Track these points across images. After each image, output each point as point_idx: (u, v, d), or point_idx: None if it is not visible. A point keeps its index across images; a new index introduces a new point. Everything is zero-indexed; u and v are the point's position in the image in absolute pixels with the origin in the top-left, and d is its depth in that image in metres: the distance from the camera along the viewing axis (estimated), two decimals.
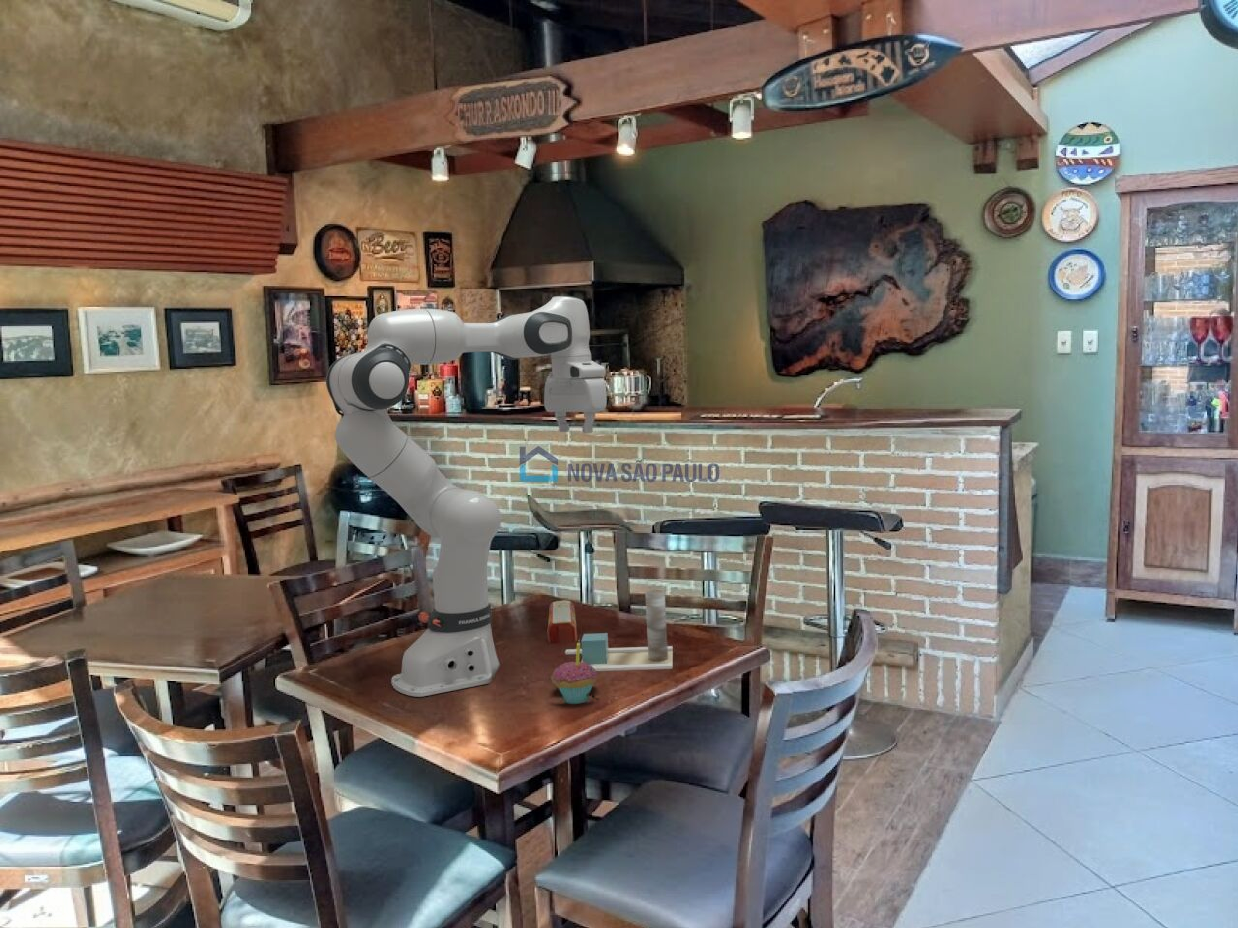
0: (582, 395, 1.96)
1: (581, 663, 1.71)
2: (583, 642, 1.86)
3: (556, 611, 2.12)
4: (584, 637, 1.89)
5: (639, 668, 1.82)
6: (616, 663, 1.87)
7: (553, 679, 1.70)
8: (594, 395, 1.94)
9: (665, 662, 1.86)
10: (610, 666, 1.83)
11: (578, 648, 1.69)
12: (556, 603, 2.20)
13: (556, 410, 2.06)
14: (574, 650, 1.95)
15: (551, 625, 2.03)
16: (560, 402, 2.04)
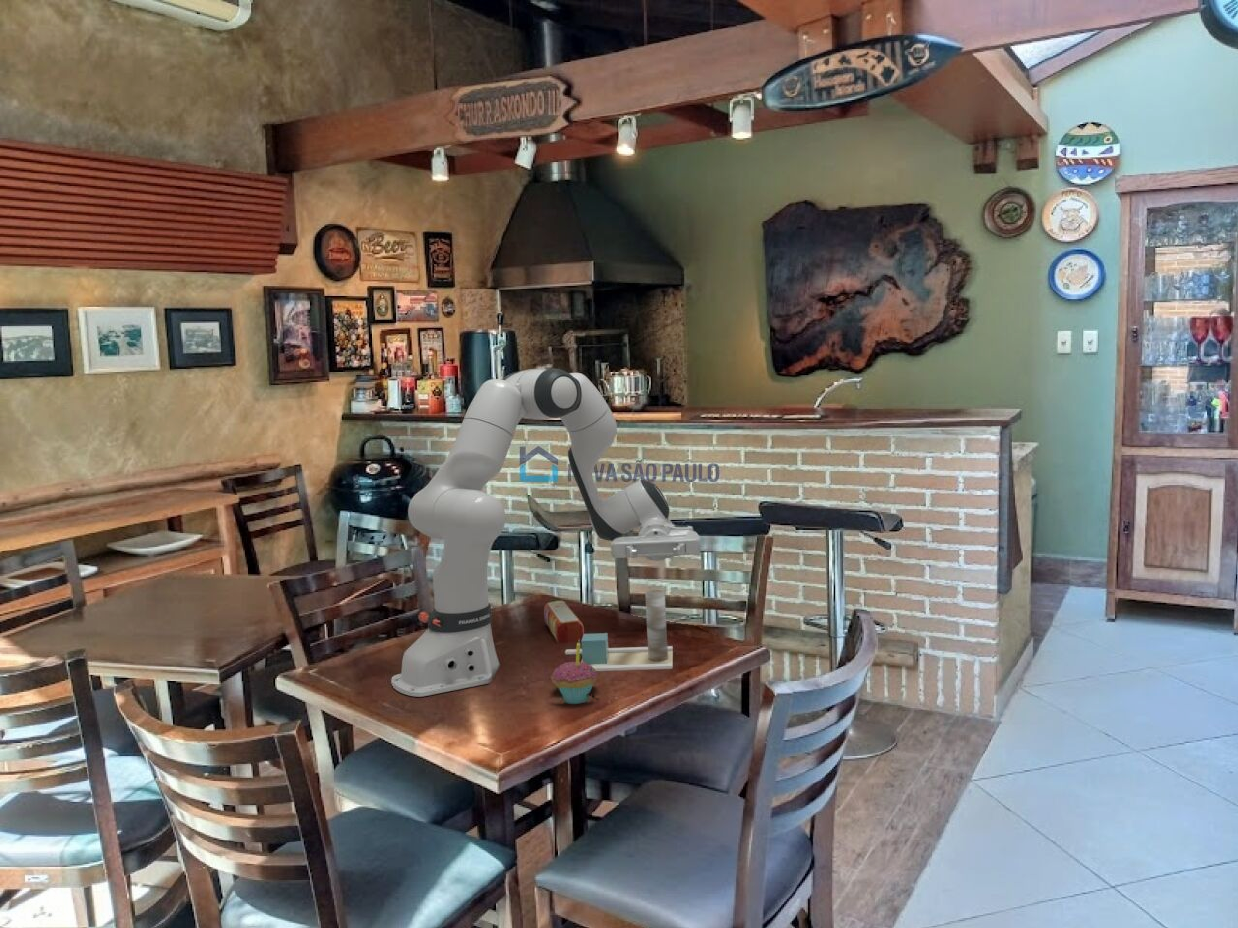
0: (683, 536, 2.06)
1: (581, 663, 1.71)
2: (583, 642, 1.86)
3: (557, 611, 2.12)
4: (584, 637, 1.89)
5: (639, 668, 1.82)
6: (616, 663, 1.87)
7: (553, 679, 1.70)
8: None
9: (665, 662, 1.86)
10: (610, 666, 1.83)
11: (578, 648, 1.69)
12: (552, 604, 2.20)
13: (633, 542, 2.04)
14: (574, 650, 1.95)
15: (559, 625, 2.03)
16: (643, 539, 2.05)
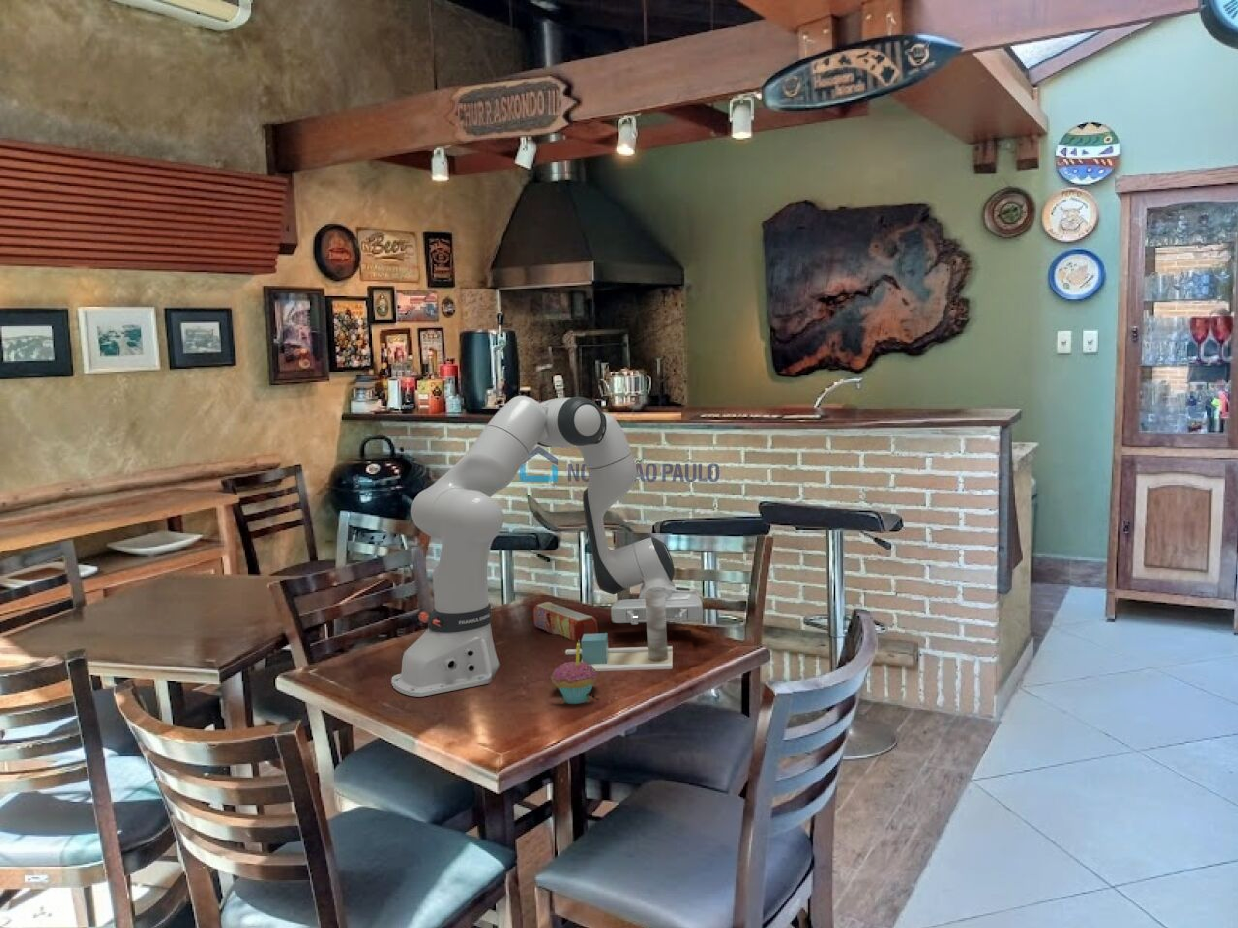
0: (685, 601, 2.02)
1: (581, 663, 1.71)
2: (583, 642, 1.86)
3: (560, 611, 2.12)
4: (584, 637, 1.89)
5: (639, 668, 1.82)
6: (616, 663, 1.87)
7: (553, 679, 1.70)
8: None
9: (665, 662, 1.86)
10: (610, 666, 1.83)
11: (578, 648, 1.69)
12: (544, 605, 2.19)
13: (634, 606, 1.99)
14: (574, 650, 1.95)
15: (576, 623, 2.03)
16: (644, 604, 2.01)
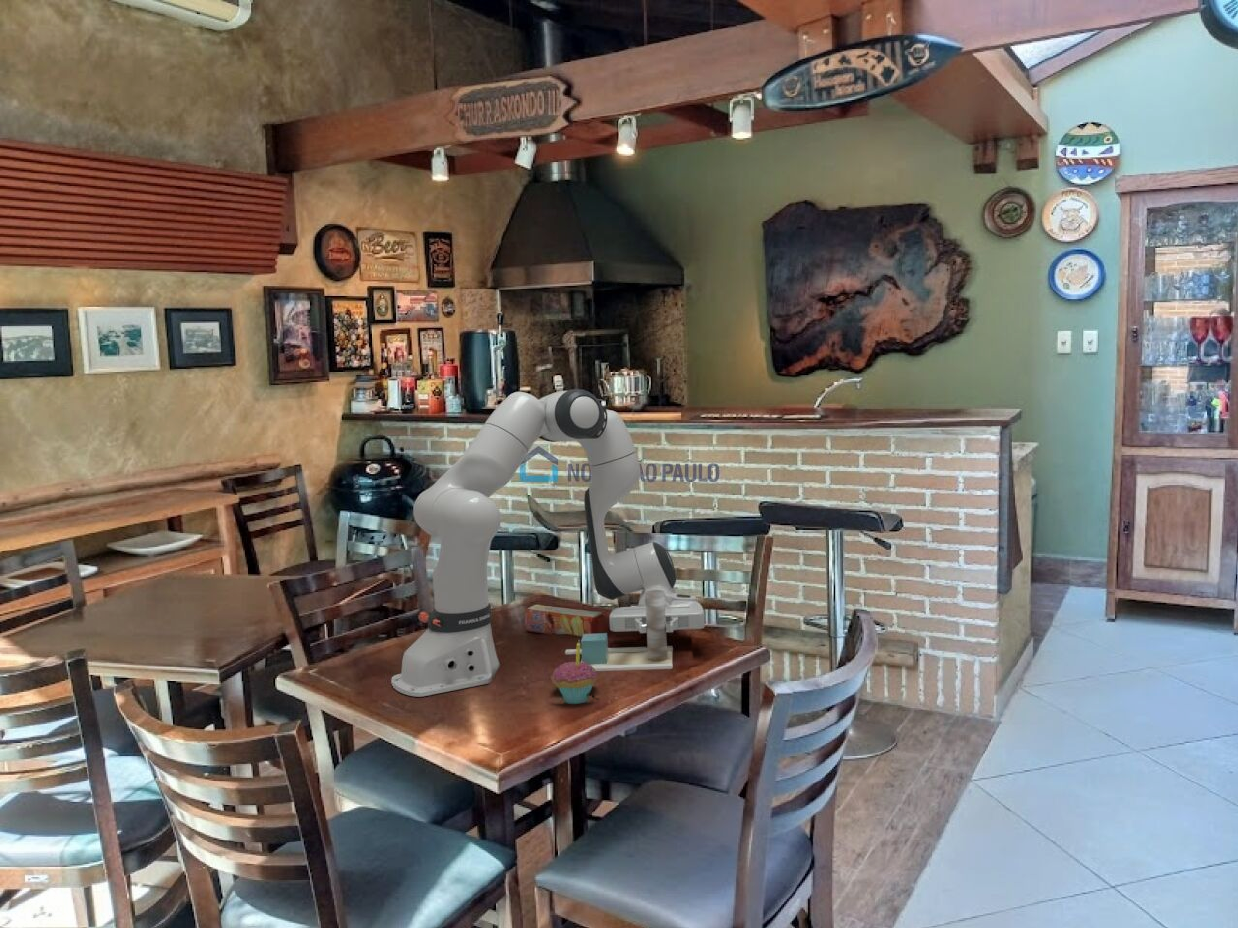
0: (685, 608, 1.94)
1: (581, 663, 1.71)
2: (583, 642, 1.87)
3: (562, 611, 2.12)
4: (584, 637, 1.89)
5: (639, 668, 1.82)
6: (616, 663, 1.87)
7: (553, 679, 1.70)
8: None
9: (664, 662, 1.86)
10: (610, 666, 1.83)
11: (578, 648, 1.69)
12: (537, 608, 2.17)
13: (633, 615, 1.92)
14: (574, 650, 1.95)
15: (592, 619, 2.06)
16: (643, 612, 1.94)
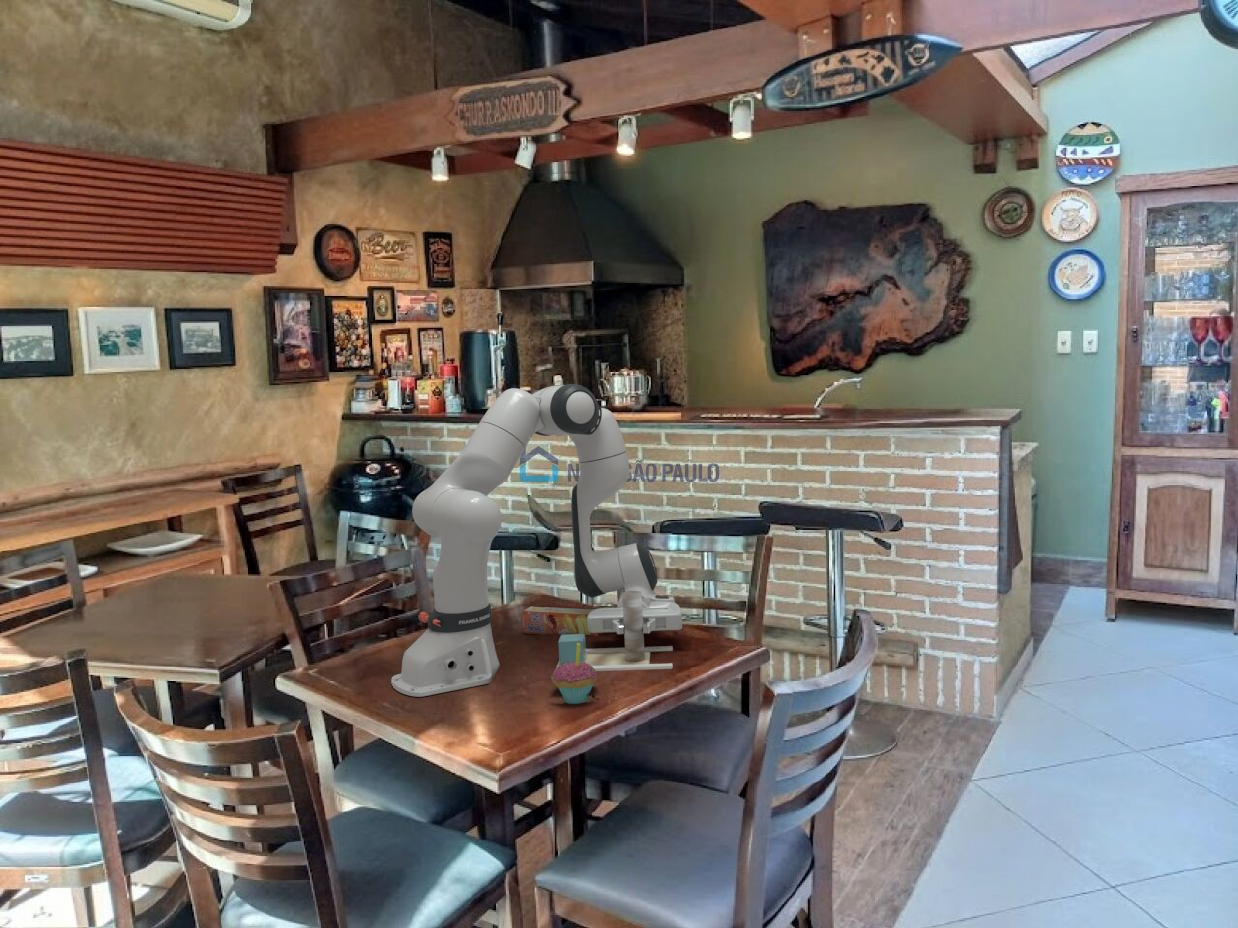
0: (663, 609, 1.95)
1: (581, 663, 1.71)
2: (560, 643, 1.87)
3: (564, 611, 2.12)
4: (561, 638, 1.89)
5: (639, 668, 1.82)
6: (593, 664, 1.87)
7: (553, 679, 1.70)
8: None
9: (641, 662, 1.86)
10: (610, 666, 1.83)
11: (578, 648, 1.69)
12: (534, 609, 2.16)
13: (611, 616, 1.92)
14: None
15: None
16: (621, 613, 1.94)
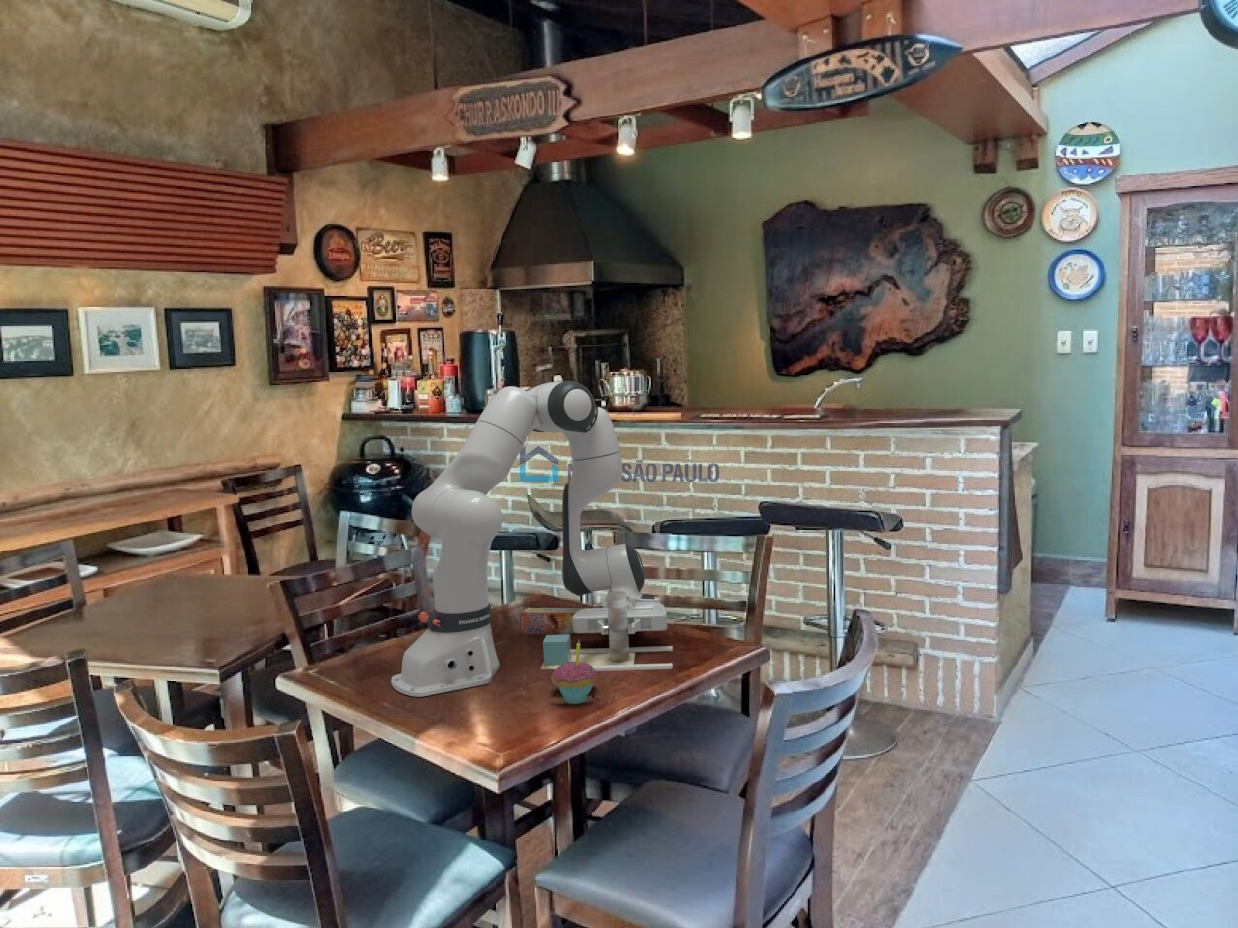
0: (649, 610, 1.95)
1: (581, 663, 1.71)
2: (545, 643, 1.87)
3: (565, 610, 2.12)
4: (546, 638, 1.89)
5: (639, 668, 1.82)
6: None
7: (553, 679, 1.70)
8: None
9: (626, 663, 1.86)
10: (610, 666, 1.83)
11: (578, 648, 1.69)
12: (533, 610, 2.15)
13: (596, 616, 1.92)
14: (574, 650, 1.95)
15: None
16: (606, 613, 1.94)
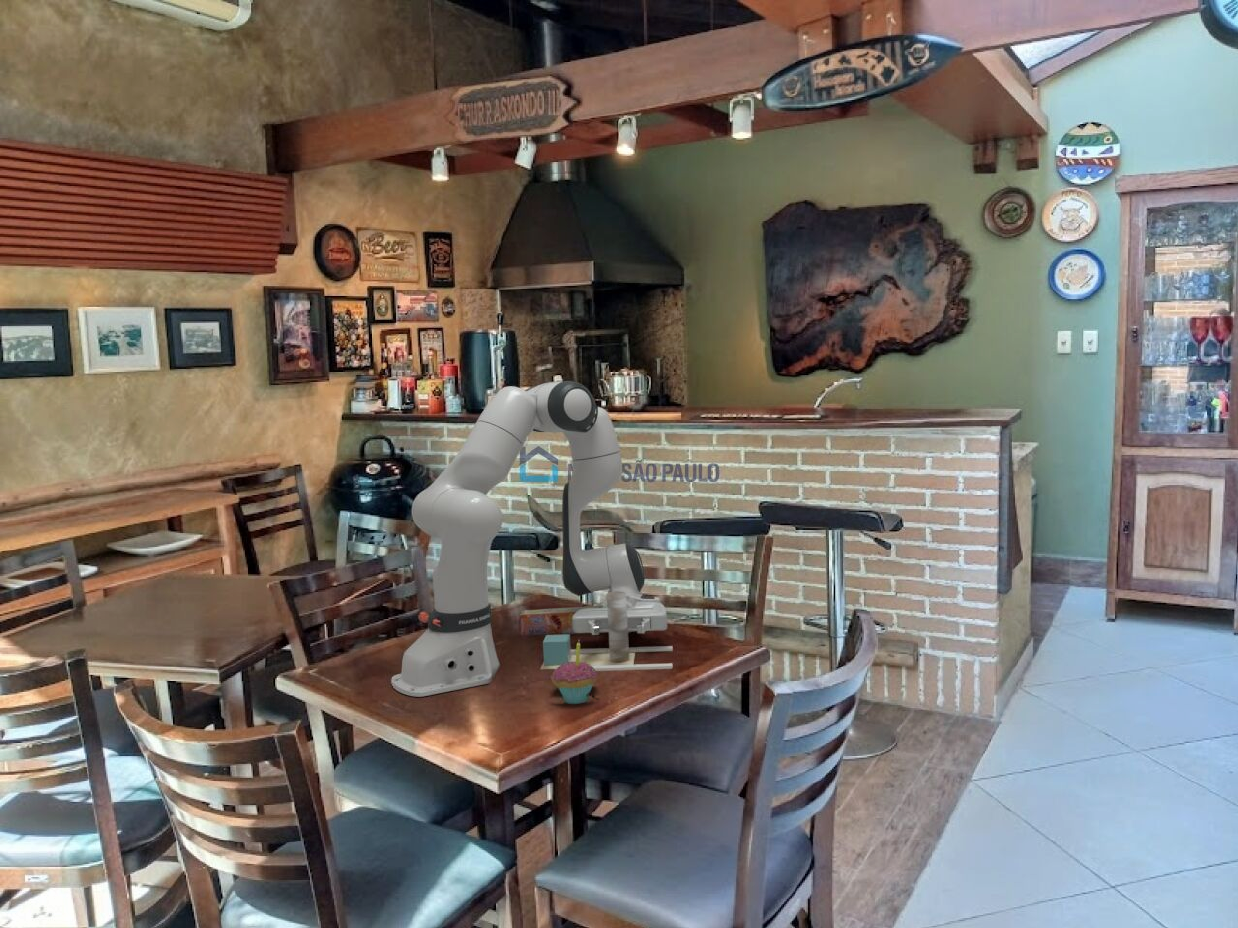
0: (649, 610, 1.95)
1: (581, 663, 1.71)
2: (544, 643, 1.87)
3: (566, 610, 2.13)
4: (546, 638, 1.89)
5: (639, 668, 1.82)
6: None
7: (553, 679, 1.70)
8: None
9: (626, 663, 1.86)
10: (610, 666, 1.83)
11: (578, 648, 1.69)
12: (533, 612, 2.13)
13: (596, 616, 1.93)
14: (574, 650, 1.95)
15: None
16: (606, 613, 1.94)
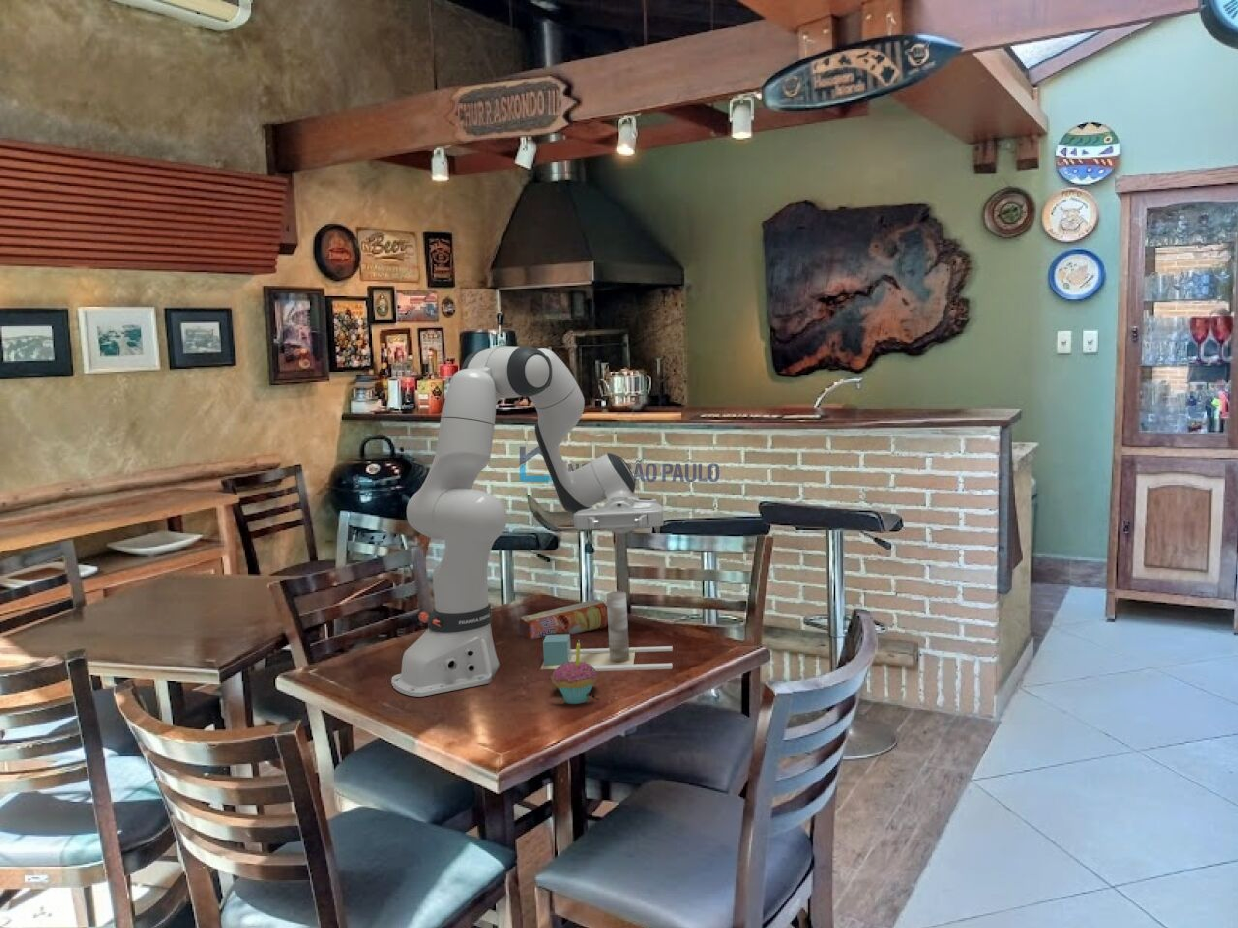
0: None
1: (581, 663, 1.71)
2: (544, 643, 1.87)
3: (568, 609, 2.14)
4: (546, 638, 1.89)
5: (639, 668, 1.82)
6: None
7: (553, 679, 1.70)
8: None
9: (626, 663, 1.86)
10: (610, 666, 1.83)
11: (578, 648, 1.69)
12: (538, 616, 2.10)
13: (596, 513, 2.03)
14: (574, 650, 1.95)
15: (605, 605, 2.18)
16: (606, 511, 2.05)
